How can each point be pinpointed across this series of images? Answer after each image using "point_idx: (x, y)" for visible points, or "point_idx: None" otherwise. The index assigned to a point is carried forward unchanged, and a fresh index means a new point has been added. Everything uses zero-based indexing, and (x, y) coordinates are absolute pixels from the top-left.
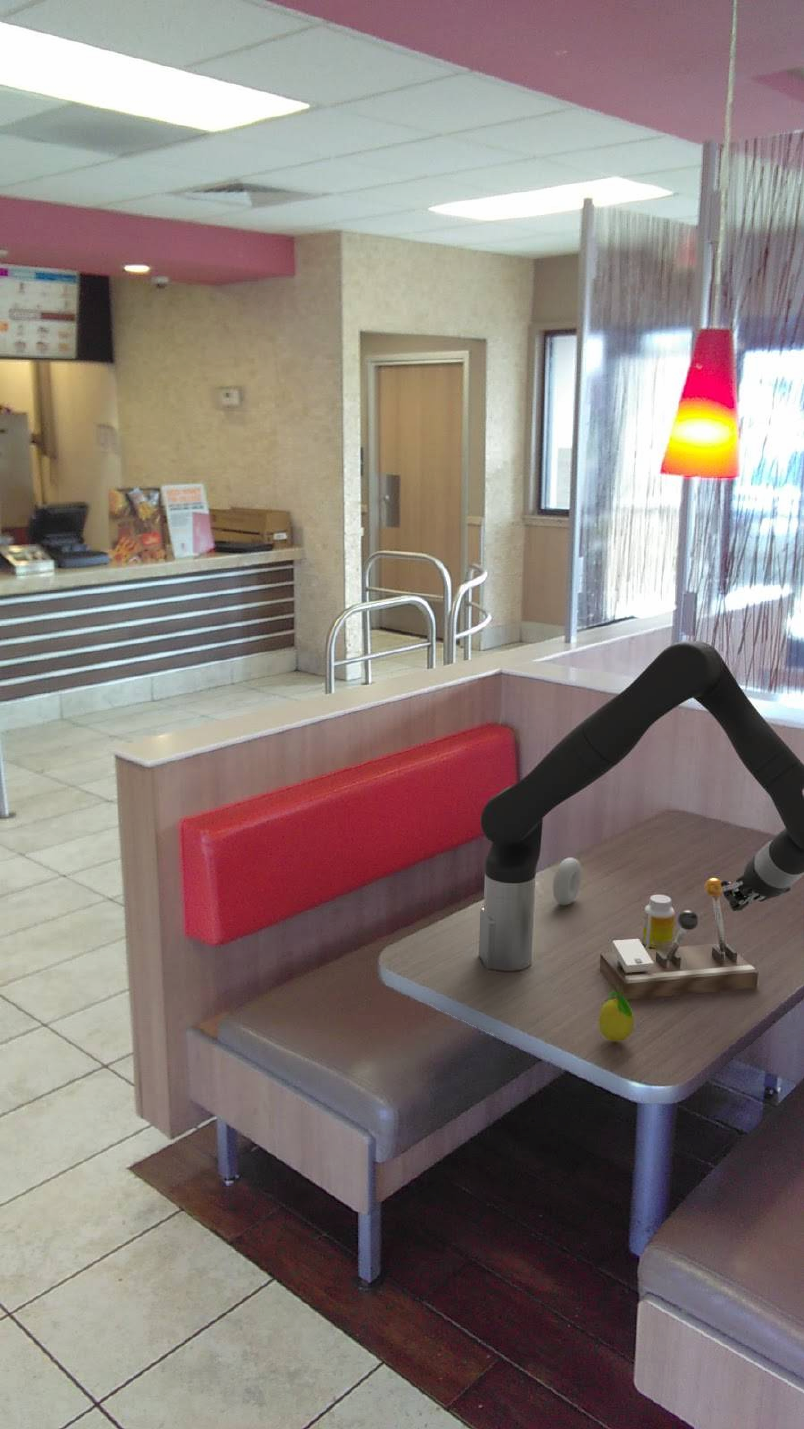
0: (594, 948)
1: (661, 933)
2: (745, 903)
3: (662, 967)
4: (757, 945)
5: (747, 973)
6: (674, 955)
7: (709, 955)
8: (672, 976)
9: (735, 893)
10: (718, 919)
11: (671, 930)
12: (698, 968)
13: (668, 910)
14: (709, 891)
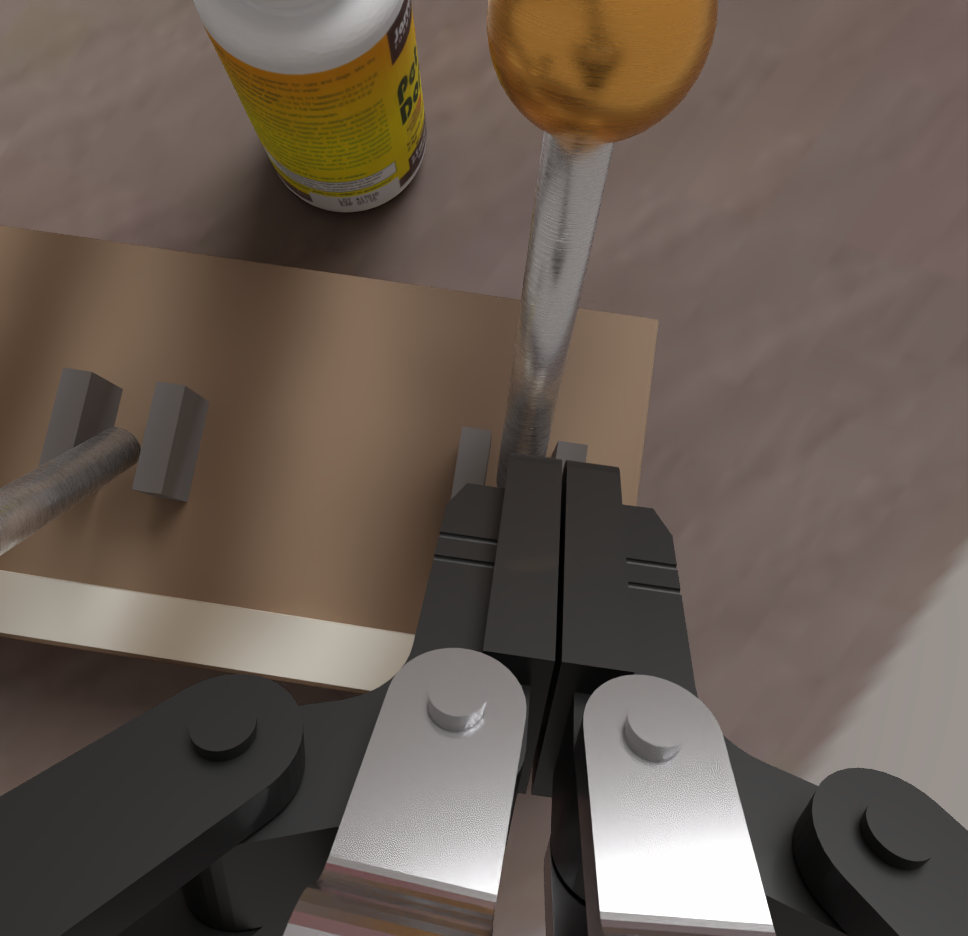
0: (39, 52)
1: (286, 141)
2: (531, 793)
3: None
4: (905, 284)
5: None
6: (99, 488)
7: (454, 431)
8: (20, 634)
9: (253, 872)
10: (528, 333)
11: (362, 133)
12: (279, 560)
13: (323, 6)
14: (500, 78)
